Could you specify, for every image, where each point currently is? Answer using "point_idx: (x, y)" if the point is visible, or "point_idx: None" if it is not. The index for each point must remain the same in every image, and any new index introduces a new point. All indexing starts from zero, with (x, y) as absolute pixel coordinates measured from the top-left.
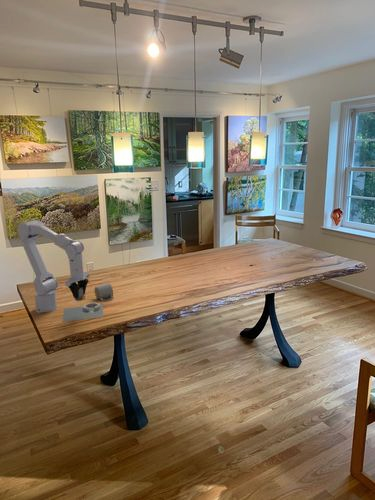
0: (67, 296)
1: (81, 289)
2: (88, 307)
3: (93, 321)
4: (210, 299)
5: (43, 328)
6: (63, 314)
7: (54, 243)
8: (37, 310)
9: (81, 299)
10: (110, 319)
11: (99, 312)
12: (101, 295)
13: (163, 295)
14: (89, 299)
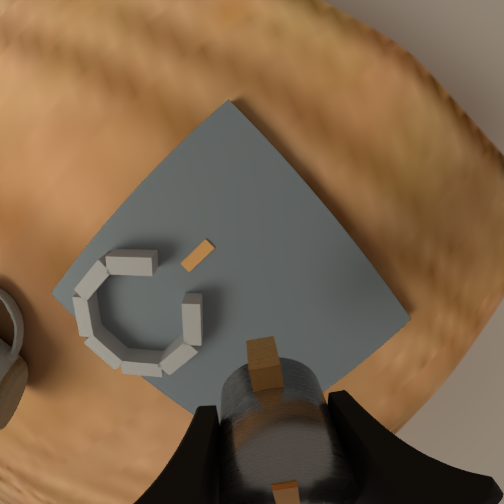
0: (113, 494)
1: (301, 465)
2: (143, 342)
3: (312, 138)
4: None
5: (463, 345)
6: None
7: None
8: None
9: (291, 363)
10: (224, 43)
11: (172, 192)
12: (2, 356)
13: None
14: (56, 411)
